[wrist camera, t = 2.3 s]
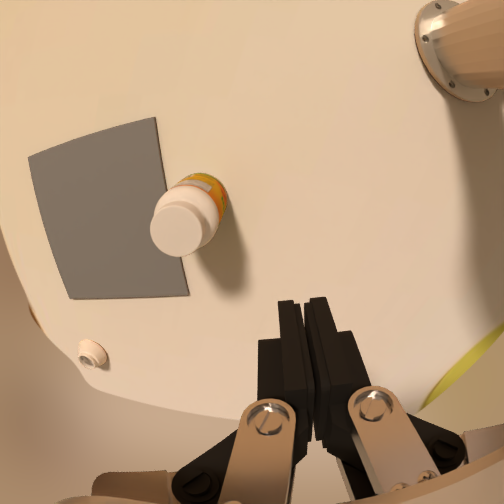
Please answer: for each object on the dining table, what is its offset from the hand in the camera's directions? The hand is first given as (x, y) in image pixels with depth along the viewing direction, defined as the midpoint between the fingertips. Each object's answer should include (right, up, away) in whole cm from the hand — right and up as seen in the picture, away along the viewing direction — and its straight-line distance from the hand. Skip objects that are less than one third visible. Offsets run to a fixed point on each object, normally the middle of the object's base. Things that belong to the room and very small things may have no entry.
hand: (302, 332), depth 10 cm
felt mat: (-19, +6, +21) cm, 29 cm away
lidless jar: (-26, -12, +30) cm, 42 cm away
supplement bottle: (-7, +8, +20) cm, 22 cm away
